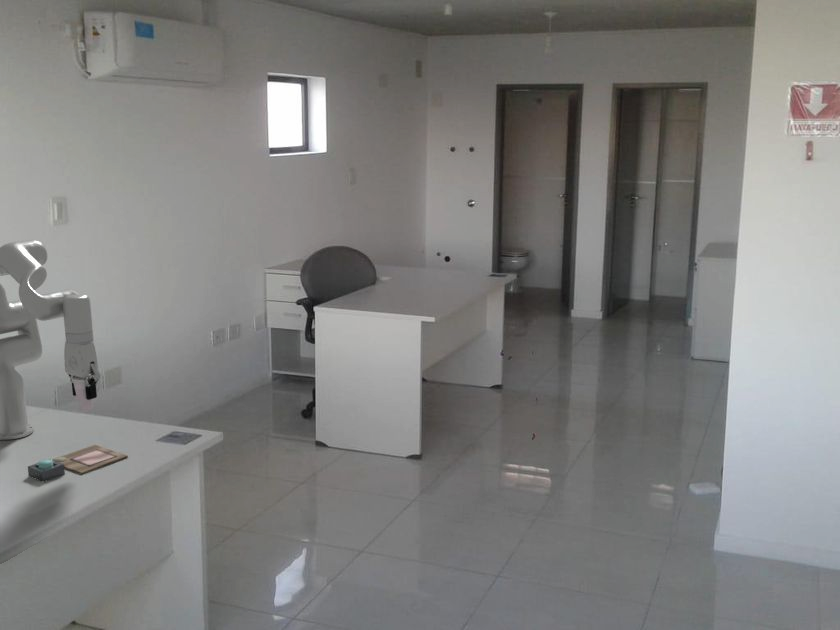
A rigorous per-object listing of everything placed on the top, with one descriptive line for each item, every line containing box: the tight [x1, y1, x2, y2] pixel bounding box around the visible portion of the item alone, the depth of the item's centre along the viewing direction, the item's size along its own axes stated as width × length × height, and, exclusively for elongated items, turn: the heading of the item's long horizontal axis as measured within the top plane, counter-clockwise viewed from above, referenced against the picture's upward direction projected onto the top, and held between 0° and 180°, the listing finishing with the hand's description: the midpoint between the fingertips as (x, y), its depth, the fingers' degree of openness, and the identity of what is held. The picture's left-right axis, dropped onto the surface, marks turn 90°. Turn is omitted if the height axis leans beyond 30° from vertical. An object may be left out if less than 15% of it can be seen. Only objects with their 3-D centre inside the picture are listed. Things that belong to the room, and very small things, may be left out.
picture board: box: [51, 444, 129, 475], centre depth 279 cm, size 16×16×1 cm
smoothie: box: [71, 374, 94, 411], centre depth 274 cm, size 6×6×14 cm
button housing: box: [27, 458, 66, 482], centre depth 268 cm, size 7×7×3 cm
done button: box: [37, 458, 53, 470], centre depth 268 cm, size 4×4×3 cm
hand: (84, 396), depth 274 cm, fingers closed on smoothie, 5 cm apart
